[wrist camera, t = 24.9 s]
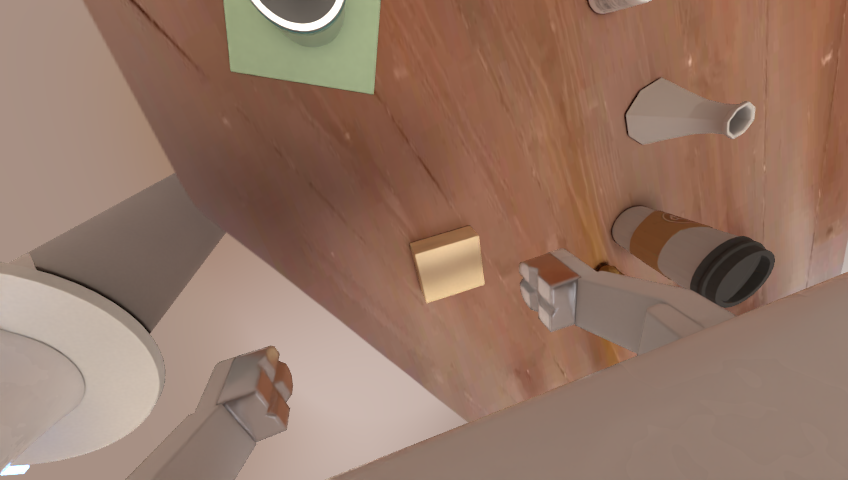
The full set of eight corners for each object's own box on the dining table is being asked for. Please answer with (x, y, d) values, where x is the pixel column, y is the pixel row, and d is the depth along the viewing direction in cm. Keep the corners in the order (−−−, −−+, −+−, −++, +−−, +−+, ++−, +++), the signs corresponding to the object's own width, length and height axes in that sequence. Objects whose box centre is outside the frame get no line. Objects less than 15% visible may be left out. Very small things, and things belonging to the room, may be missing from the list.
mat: (232, 71, 26) (230, 71, 26) (213, -124, 21) (210, -129, 21) (373, 94, 30) (373, 94, 29) (385, -69, 25) (385, -72, 24)
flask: (682, 109, 39) (780, 117, 30) (638, 154, 40) (719, 173, 32) (662, 65, 36) (766, 59, 27) (615, 115, 37) (699, 124, 28)
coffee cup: (663, 201, 45) (793, 247, 32) (636, 250, 49) (745, 311, 36) (620, 195, 43) (743, 243, 30) (595, 248, 46) (697, 311, 33)
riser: (475, 272, 43) (484, 284, 40) (421, 289, 42) (426, 303, 39) (469, 225, 39) (479, 235, 36) (409, 243, 38) (414, 254, 35)
